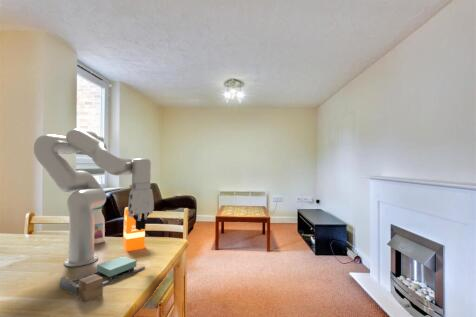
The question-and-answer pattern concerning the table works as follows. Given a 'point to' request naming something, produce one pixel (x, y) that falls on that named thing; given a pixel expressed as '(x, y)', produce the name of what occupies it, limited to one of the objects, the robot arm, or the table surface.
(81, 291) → the block
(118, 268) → the sage green box
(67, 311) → the table surface
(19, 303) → the table surface
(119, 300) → the table surface
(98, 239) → the milk bottle
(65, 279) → the track
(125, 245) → the orange juice
